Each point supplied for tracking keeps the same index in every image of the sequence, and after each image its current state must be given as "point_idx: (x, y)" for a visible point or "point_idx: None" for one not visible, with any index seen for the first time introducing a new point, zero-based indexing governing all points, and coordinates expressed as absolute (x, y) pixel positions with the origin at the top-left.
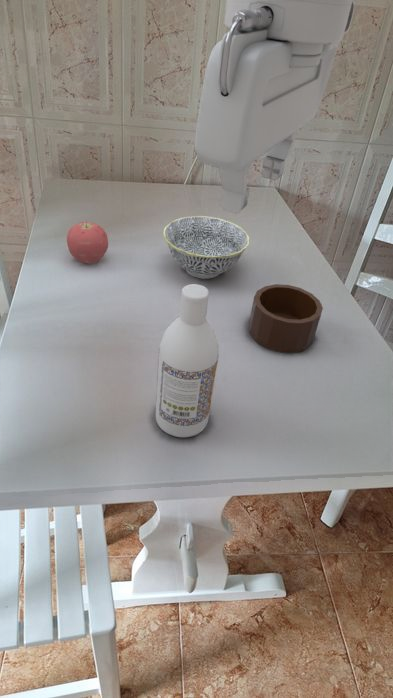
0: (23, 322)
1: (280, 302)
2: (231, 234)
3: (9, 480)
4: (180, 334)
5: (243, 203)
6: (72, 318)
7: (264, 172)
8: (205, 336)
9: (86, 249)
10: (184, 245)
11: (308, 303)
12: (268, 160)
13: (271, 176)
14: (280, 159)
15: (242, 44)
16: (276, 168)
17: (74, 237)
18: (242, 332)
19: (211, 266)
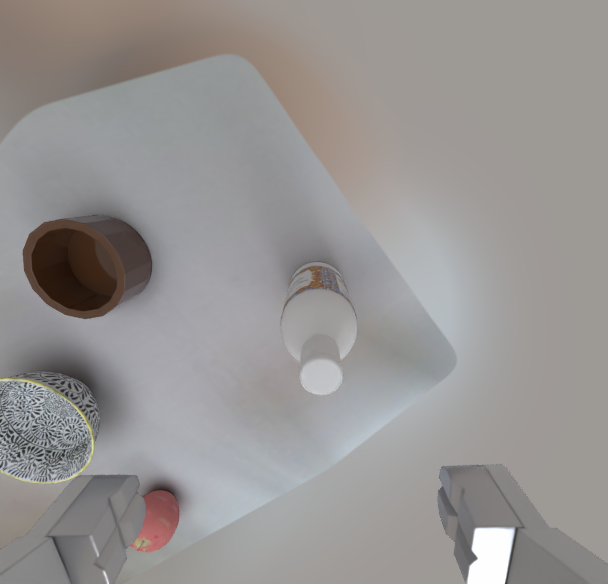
0: (294, 477)
1: (65, 283)
2: None
3: (455, 366)
4: (346, 347)
5: (501, 485)
6: (259, 449)
7: (137, 524)
8: (327, 319)
9: (168, 513)
10: (55, 440)
11: (43, 247)
12: (108, 571)
13: (132, 496)
14: (57, 548)
15: None
16: (111, 518)
17: (167, 536)
18: (146, 299)
19: (78, 392)
